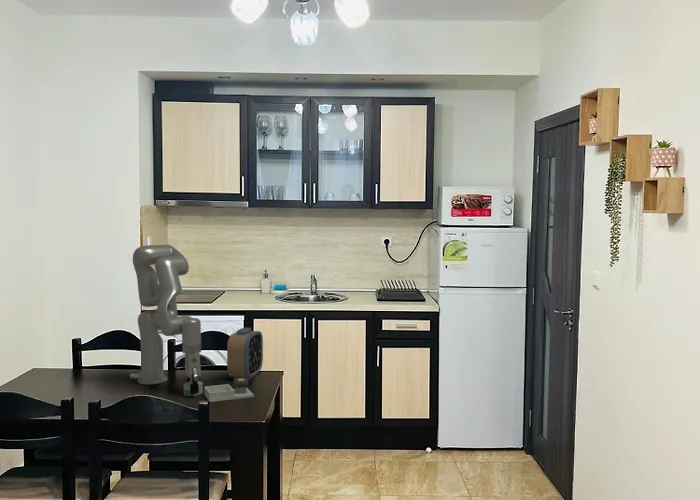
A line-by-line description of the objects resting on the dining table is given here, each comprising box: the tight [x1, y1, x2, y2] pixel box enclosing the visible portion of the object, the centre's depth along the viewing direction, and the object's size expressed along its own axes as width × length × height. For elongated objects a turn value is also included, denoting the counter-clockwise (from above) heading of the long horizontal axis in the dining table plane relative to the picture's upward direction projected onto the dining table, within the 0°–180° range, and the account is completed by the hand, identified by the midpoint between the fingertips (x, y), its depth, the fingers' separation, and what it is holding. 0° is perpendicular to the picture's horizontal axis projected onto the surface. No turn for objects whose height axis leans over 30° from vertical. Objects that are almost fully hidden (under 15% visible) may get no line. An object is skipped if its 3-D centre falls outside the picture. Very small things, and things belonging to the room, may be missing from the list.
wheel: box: [232, 378, 249, 388], centre depth 274 cm, size 6×6×5 cm
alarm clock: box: [226, 327, 264, 381], centre depth 302 cm, size 21×10×22 cm, turn 168°
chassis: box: [203, 383, 255, 403], centre depth 272 cm, size 18×10×4 cm, turn 113°
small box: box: [183, 380, 204, 397], centre depth 274 cm, size 6×6×5 cm
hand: (192, 390), depth 274 cm, fingers closed on small box, 7 cm apart
